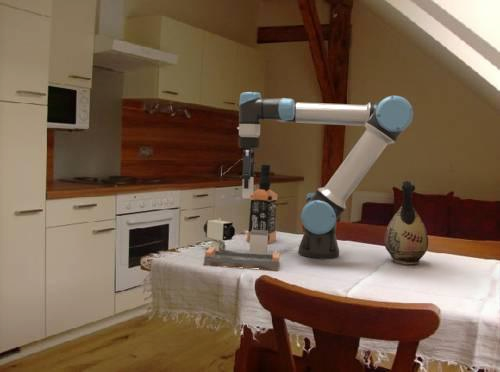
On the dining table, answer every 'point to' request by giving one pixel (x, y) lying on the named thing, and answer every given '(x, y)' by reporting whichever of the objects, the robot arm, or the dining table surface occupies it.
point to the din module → (258, 242)
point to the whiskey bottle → (263, 207)
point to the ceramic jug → (406, 232)
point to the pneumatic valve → (219, 232)
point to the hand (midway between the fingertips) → (247, 196)
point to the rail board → (241, 259)
